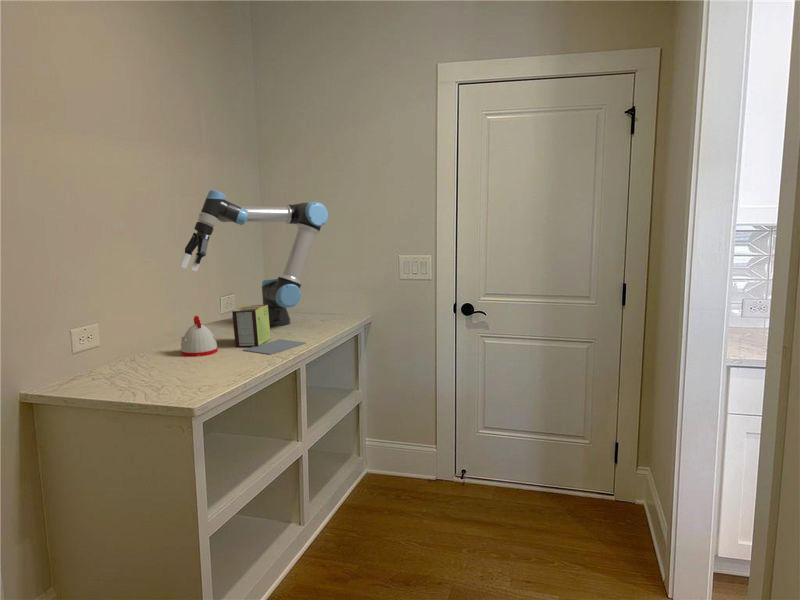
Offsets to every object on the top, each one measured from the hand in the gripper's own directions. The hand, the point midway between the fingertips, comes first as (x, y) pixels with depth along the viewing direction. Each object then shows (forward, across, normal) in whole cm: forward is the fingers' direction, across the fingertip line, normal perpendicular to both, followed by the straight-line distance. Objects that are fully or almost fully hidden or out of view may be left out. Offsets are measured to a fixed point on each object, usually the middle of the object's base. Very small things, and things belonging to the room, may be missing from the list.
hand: (188, 269), depth 236 cm
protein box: (+21, +25, +29) cm, 44 cm away
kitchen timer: (+31, +26, +8) cm, 41 cm away
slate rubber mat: (+19, +38, +32) cm, 53 cm away
